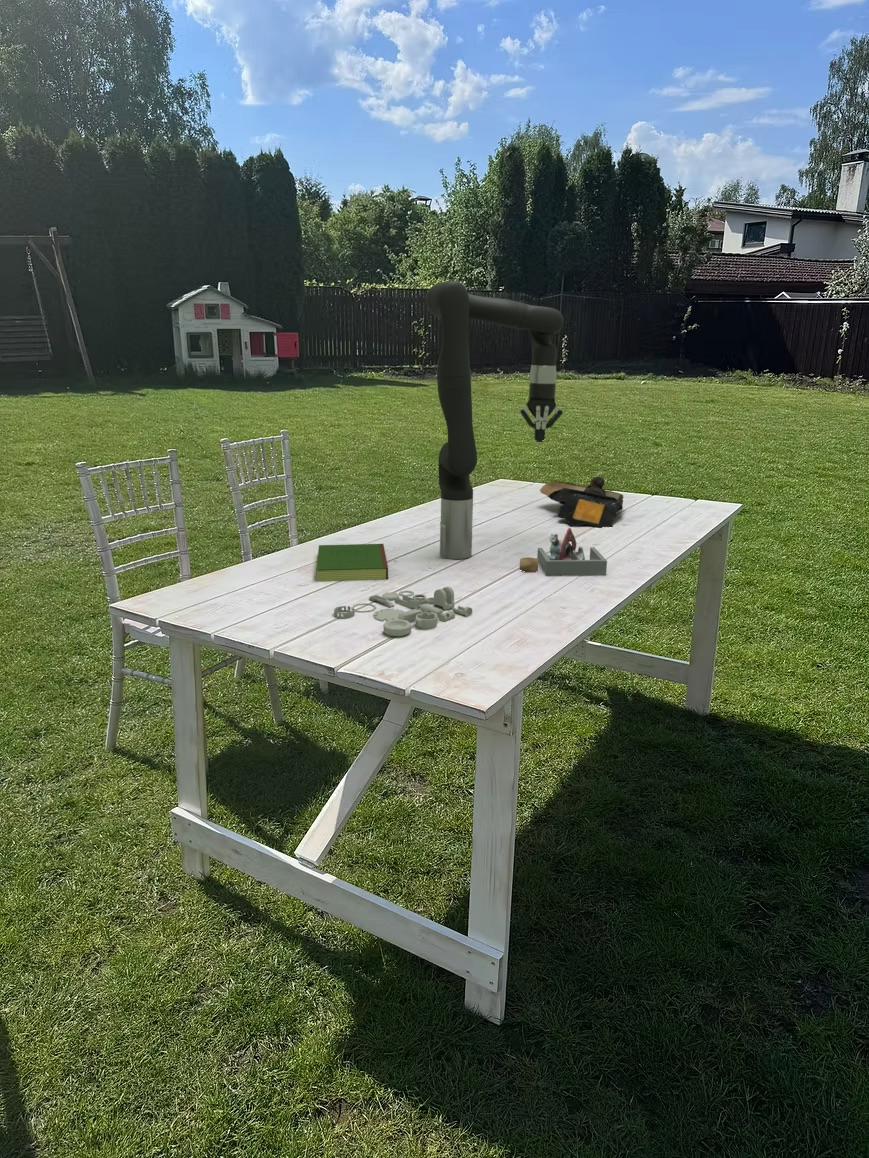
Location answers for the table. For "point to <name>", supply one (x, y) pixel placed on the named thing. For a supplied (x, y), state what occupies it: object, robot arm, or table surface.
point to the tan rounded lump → (529, 564)
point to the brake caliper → (565, 548)
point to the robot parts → (401, 620)
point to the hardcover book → (352, 562)
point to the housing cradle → (573, 565)
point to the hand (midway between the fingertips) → (539, 441)
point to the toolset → (585, 502)
